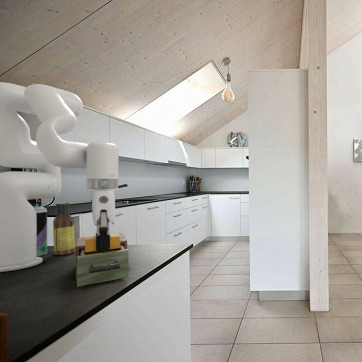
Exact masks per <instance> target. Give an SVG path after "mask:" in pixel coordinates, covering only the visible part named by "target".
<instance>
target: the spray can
mask: <svg viewBox="0 0 362 362" xmlns="http://www.w3.org/2000/svg"><path fill="white" fill-rule="evenodd" d="M32 206H33V207H34V209H35V211H36V257H40V256H45V255H47V254H48V208H46V207H44V206H43V205H42V203H41V202H35V203H34V204H33V205H32Z"/></svg>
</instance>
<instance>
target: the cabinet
mask: <svg viewBox="0 0 362 362" xmlns="http://www.w3.org/2000/svg"><path fill="white" fill-rule="evenodd" d="M110 234H111V233H109V235H110ZM117 234H119V235H120V244H121V243H122V245H123V247H124V249H128V240H127V238H126V236H125V235H124V233H123V232H119V233H117ZM85 237H86V236H80V237H77V238H76V242H75V280H76V281H77V256H81V249H82V248H85Z"/></svg>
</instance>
